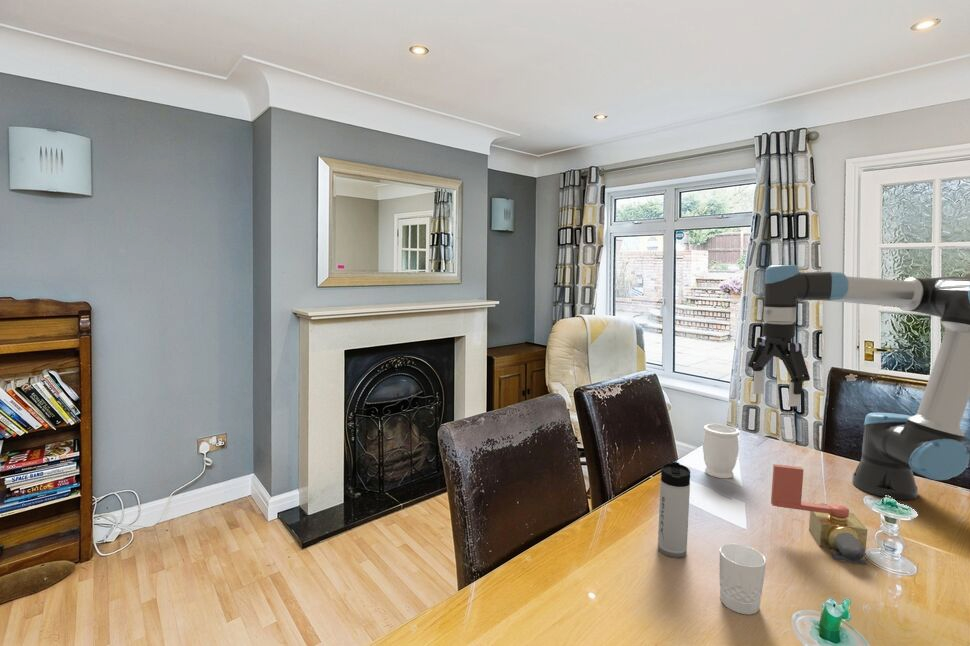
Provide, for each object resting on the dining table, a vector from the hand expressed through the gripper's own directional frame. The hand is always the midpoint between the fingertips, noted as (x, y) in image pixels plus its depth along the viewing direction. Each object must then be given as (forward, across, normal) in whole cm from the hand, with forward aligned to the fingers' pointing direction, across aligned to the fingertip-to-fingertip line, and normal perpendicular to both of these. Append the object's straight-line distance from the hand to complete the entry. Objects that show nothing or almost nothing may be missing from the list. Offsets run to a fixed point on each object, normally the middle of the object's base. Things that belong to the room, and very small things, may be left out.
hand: (775, 399), depth 133 cm
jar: (+30, -21, -2) cm, 36 cm away
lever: (+23, +18, -4) cm, 29 cm away
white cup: (+29, +38, -36) cm, 60 cm away
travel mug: (+29, +19, -40) cm, 53 cm away
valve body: (+30, +20, +2) cm, 36 cm away
